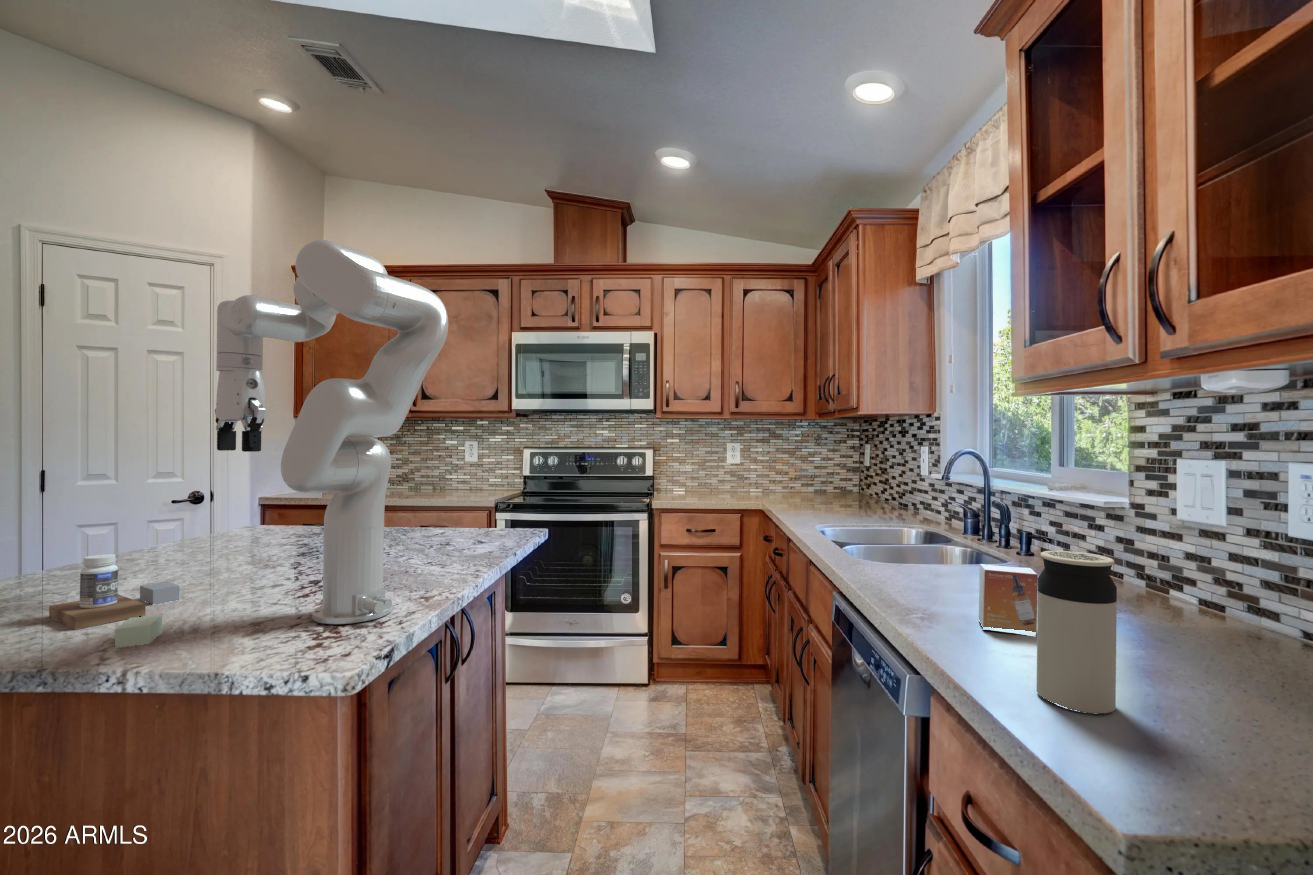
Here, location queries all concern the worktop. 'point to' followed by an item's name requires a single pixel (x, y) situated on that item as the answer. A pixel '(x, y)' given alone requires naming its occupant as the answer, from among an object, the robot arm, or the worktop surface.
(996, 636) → the worktop surface
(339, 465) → the robot arm
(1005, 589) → the small box
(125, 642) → the sage brick
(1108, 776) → the worktop surface
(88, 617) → the walnut block
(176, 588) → the grey brick
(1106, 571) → the travel mug
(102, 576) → the pill bottle
